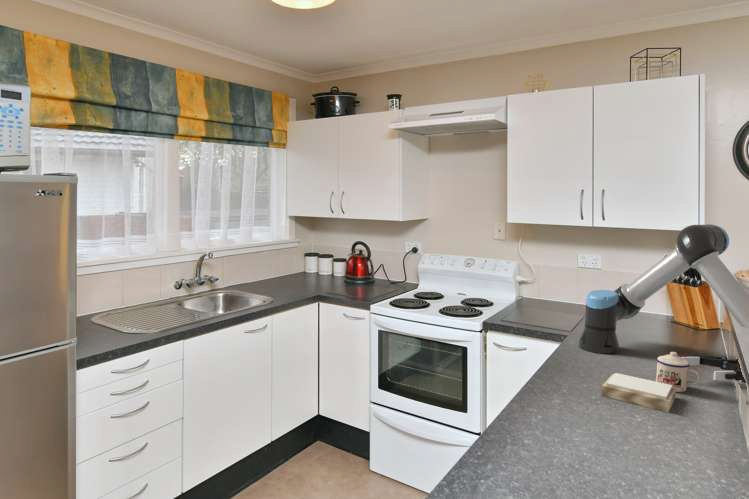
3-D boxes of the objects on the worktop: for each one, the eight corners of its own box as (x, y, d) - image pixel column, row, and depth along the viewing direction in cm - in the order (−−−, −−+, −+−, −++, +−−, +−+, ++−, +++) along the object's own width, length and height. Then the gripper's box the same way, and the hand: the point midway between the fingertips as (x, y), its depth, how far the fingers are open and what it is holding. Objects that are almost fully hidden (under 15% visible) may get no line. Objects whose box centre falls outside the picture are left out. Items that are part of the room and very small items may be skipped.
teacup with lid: (651, 387, 160) (654, 352, 159) (658, 380, 167) (661, 346, 166) (694, 397, 152) (698, 361, 151) (700, 390, 159) (703, 354, 158)
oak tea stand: (601, 395, 152) (602, 383, 152) (612, 383, 163) (613, 371, 163) (668, 412, 141) (669, 398, 141) (675, 397, 152) (676, 385, 152)
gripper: (790, 392, 151) (728, 394, 148) (722, 365, 175) (668, 366, 172) (793, 368, 150) (731, 370, 147) (724, 344, 174) (670, 345, 171)
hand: (697, 368), depth 159 cm, fingers open, 13 cm apart
